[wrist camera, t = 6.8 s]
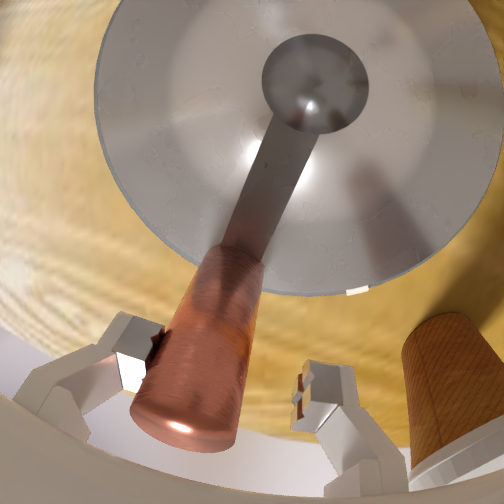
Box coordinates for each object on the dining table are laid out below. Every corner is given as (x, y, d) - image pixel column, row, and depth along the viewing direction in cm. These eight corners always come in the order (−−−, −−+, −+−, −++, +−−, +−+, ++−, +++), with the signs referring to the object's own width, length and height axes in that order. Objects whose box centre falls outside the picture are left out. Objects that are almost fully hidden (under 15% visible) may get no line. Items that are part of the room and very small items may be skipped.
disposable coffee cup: (490, 346, 19) (538, 455, 9) (399, 395, 22) (420, 513, 12) (478, 270, 16) (568, 406, 6) (362, 335, 20) (389, 499, 9)
